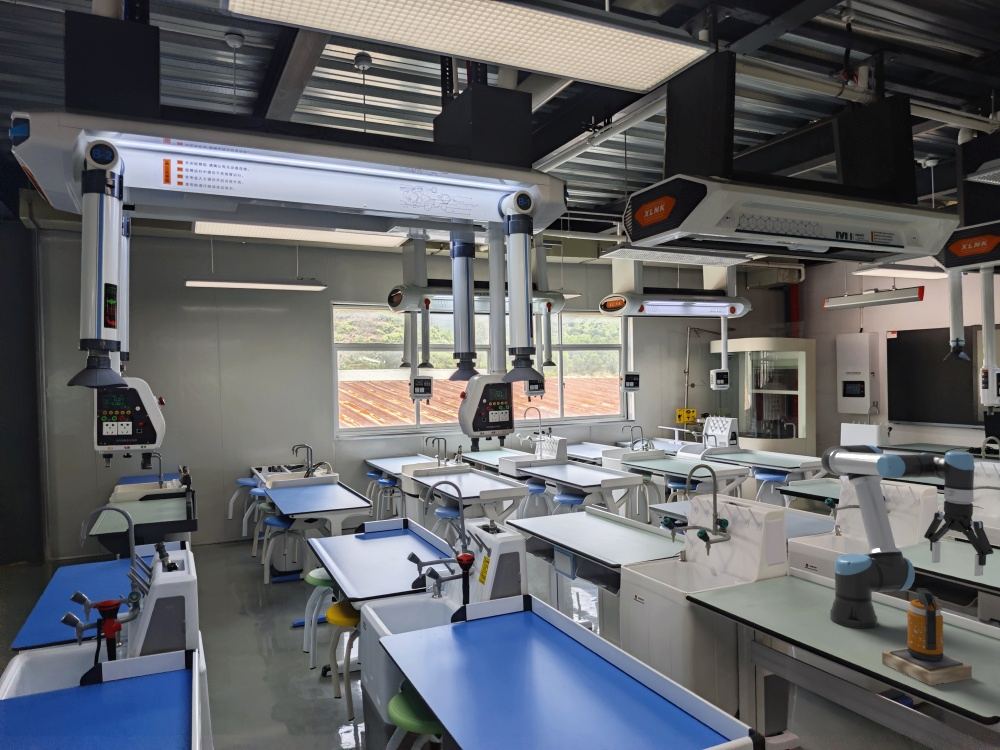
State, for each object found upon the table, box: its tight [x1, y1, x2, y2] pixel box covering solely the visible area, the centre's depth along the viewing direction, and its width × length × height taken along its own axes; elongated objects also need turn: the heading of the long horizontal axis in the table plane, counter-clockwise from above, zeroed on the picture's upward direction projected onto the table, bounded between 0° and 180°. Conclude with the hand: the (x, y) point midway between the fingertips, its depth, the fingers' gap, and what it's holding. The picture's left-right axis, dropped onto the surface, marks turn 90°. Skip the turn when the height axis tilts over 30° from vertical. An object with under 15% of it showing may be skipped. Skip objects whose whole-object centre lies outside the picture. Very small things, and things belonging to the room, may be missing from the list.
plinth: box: [881, 647, 973, 686], centre depth 198 cm, size 16×16×4 cm
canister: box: [906, 587, 944, 661], centre depth 198 cm, size 9×11×20 cm
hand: (956, 568), depth 208 cm, fingers open, 13 cm apart
